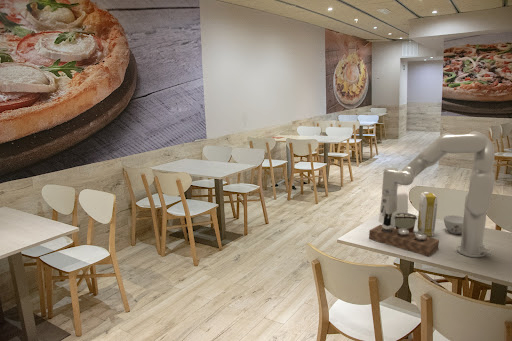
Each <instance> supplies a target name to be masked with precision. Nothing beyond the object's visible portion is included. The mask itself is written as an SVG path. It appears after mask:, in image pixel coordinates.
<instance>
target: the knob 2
mask: <svg viewBox="0 0 512 341" xmlns="http://www.w3.org/2000/svg"><path fill="white" fill-rule="evenodd" d="M398 235H399V236H402V237H407V236H408V235H409V230H408V229H406V228H399V229H398Z"/></svg>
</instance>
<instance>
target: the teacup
mask: <svg viewBox="0 0 512 341" xmlns="http://www.w3.org/2000/svg"><path fill="white" fill-rule="evenodd" d="M463 219H464V216H460V215H449V214H448V215H445V216H444V217H443V223H444V226H445V228H446V230H447V231H448V232H449V233H451V234H453V235H460V234H462V227H463Z"/></svg>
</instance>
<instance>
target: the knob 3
mask: <svg viewBox="0 0 512 341" xmlns="http://www.w3.org/2000/svg"><path fill="white" fill-rule="evenodd" d="M414 233H415V239H416V240H417V241H420V242H424V241H425V240H426V237H427V236H426V234H425V233H420V232H418V231H417V232H414Z"/></svg>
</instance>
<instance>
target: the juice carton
mask: <svg viewBox="0 0 512 341" xmlns="http://www.w3.org/2000/svg"><path fill="white" fill-rule="evenodd" d="M437 210H438V196H436V195H435V194H434V192H428V191H424V192H421V193H420V196H419V203H418V214H417V215H418V216H417V233H418V232H420V233H425V234H426V237H430V238H433V237H434V235H435V230H436V220H437Z"/></svg>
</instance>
